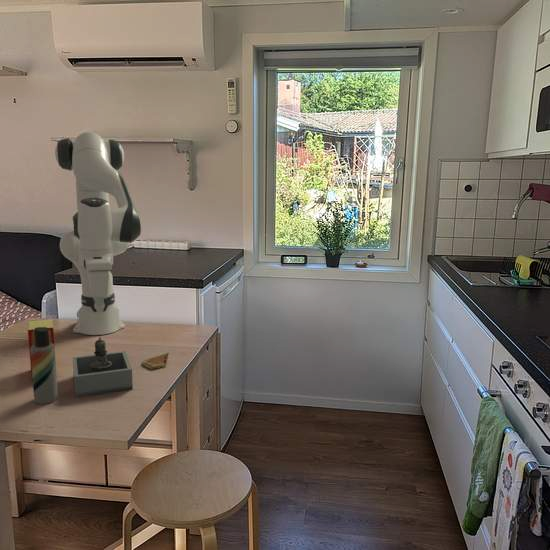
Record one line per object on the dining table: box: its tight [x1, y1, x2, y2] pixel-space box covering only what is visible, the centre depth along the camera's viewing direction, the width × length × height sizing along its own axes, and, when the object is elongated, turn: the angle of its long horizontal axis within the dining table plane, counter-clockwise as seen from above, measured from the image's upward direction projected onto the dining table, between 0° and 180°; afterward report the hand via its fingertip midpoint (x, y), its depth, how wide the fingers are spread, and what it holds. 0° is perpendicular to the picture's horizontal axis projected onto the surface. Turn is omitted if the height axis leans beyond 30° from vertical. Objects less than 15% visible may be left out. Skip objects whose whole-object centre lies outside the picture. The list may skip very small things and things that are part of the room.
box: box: [72, 350, 134, 398], centre depth 141 cm, size 15×15×6 cm
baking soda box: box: [27, 318, 57, 383], centre depth 144 cm, size 10×6×16 cm
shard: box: [140, 352, 169, 370], centre depth 157 cm, size 11×8×2 cm
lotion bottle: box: [29, 327, 59, 405], centre depth 128 cm, size 6×6×20 cm
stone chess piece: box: [91, 337, 112, 373], centre depth 142 cm, size 6×6×12 cm
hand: (98, 306), depth 136 cm, fingers open, 8 cm apart
